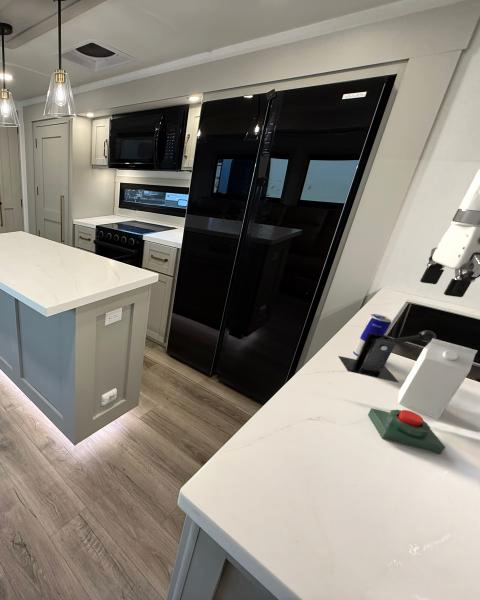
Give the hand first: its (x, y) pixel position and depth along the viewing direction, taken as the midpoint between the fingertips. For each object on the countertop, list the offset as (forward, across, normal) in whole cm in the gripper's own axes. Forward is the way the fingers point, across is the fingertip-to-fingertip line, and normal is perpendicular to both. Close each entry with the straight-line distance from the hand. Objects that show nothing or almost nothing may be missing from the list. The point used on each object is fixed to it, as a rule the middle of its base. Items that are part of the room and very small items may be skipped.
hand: (439, 289), depth 77 cm
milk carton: (+29, -10, -2) cm, 31 cm away
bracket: (+29, +4, +4) cm, 30 cm away
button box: (+29, -23, +6) cm, 37 cm away
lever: (+18, +4, -2) cm, 19 cm away
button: (+26, -23, +6) cm, 35 cm away
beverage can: (+29, +13, +2) cm, 32 cm away
